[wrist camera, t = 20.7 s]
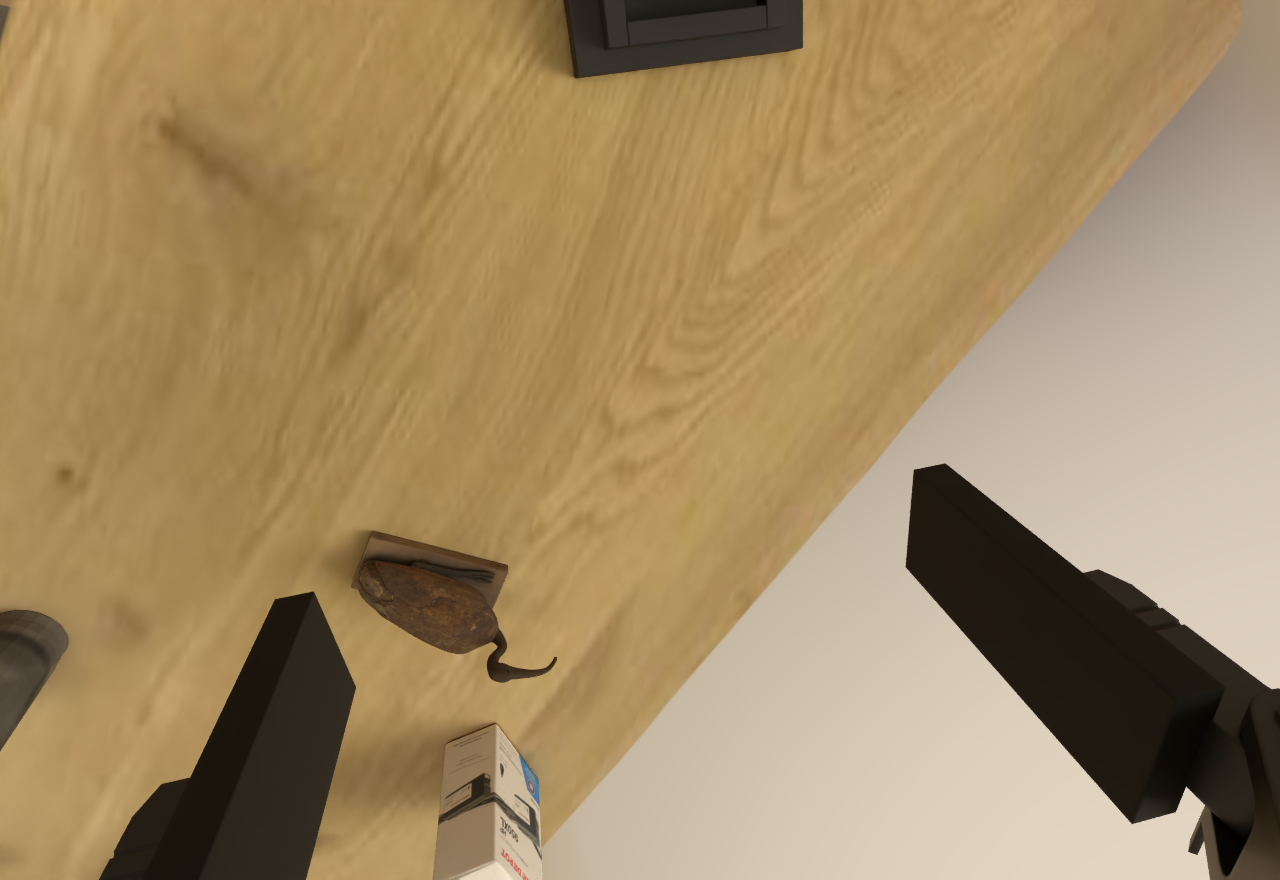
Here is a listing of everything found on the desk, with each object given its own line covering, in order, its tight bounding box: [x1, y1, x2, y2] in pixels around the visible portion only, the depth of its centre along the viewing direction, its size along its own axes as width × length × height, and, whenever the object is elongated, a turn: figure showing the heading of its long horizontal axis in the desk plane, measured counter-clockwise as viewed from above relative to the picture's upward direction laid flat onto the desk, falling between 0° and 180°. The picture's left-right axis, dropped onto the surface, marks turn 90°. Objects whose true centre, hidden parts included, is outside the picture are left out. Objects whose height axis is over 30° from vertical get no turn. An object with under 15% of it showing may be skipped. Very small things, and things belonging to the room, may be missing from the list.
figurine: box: [351, 531, 557, 683], centre depth 44 cm, size 14×4×9 cm, turn 65°
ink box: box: [433, 724, 543, 880], centre depth 51 cm, size 8×5×12 cm, turn 21°
